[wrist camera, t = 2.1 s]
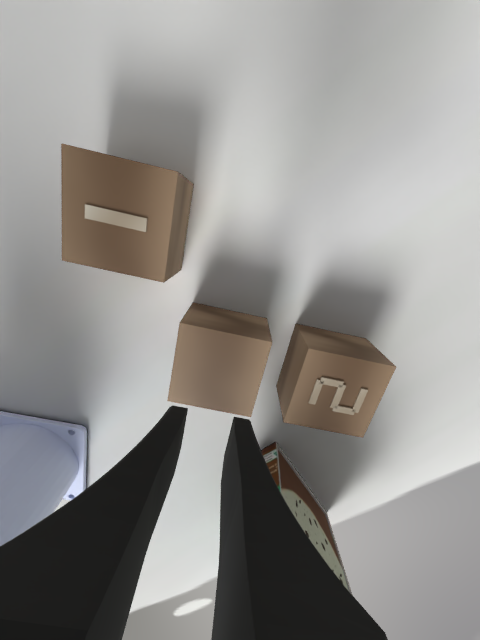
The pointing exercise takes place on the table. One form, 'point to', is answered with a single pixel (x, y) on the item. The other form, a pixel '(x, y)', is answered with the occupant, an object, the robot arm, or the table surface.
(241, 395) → the plain block
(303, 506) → the food container
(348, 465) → the table surface
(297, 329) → the block two
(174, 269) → the block one
